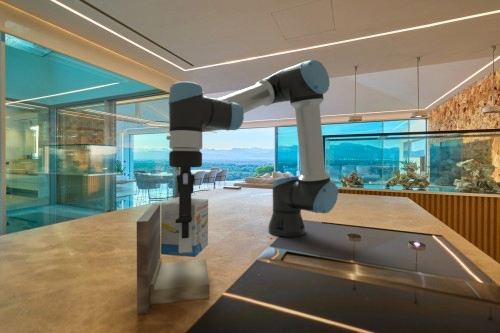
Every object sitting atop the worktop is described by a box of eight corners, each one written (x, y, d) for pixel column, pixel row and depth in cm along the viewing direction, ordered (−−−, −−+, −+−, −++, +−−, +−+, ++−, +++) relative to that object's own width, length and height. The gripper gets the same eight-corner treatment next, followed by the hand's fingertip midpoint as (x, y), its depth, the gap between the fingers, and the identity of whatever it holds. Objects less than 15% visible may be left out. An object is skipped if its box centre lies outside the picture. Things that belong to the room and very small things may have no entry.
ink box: (195, 257, 55) (195, 204, 54) (159, 254, 56) (159, 202, 56) (209, 244, 63) (209, 198, 63) (178, 242, 65) (178, 197, 64)
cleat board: (205, 265, 71) (205, 202, 70) (210, 305, 51) (210, 218, 51) (152, 270, 68) (152, 203, 67) (137, 314, 48) (136, 221, 48)
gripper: (172, 151, 69) (172, 230, 70) (164, 147, 47) (164, 264, 48) (200, 152, 71) (200, 229, 72) (204, 148, 49) (204, 261, 49)
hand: (185, 243), depth 60 cm, fingers closed on ink box, 11 cm apart
